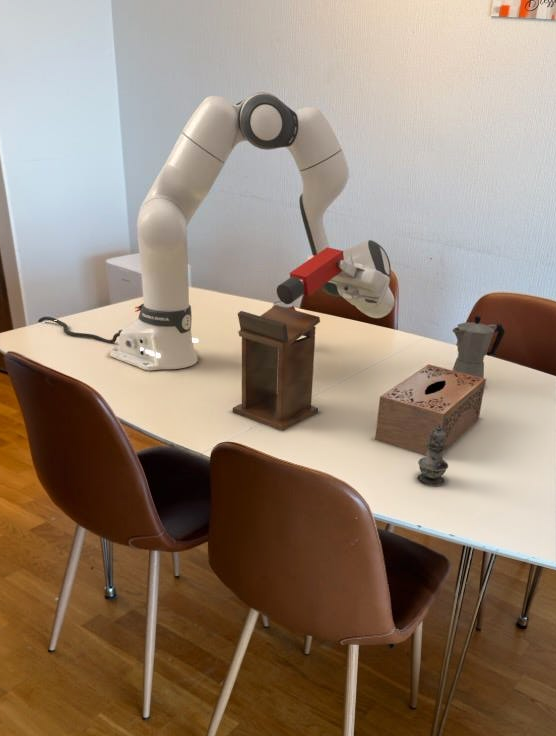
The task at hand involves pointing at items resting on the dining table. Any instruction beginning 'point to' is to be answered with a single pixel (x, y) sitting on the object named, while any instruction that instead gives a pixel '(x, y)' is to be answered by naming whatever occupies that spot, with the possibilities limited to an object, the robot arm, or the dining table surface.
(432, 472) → the dark stone figurine
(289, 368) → the wooden lectern stand
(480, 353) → the coffeepot
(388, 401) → the tissue box cover
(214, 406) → the dining table surface
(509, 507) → the dining table surface
